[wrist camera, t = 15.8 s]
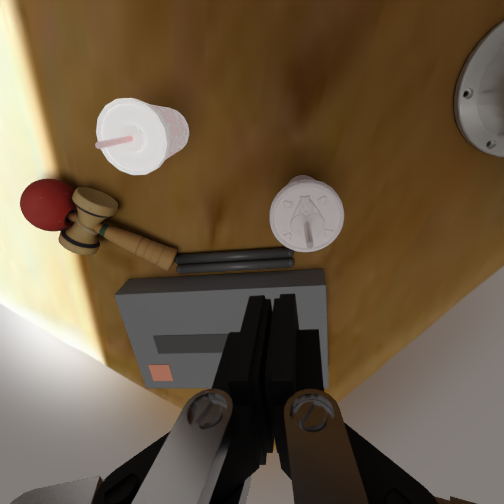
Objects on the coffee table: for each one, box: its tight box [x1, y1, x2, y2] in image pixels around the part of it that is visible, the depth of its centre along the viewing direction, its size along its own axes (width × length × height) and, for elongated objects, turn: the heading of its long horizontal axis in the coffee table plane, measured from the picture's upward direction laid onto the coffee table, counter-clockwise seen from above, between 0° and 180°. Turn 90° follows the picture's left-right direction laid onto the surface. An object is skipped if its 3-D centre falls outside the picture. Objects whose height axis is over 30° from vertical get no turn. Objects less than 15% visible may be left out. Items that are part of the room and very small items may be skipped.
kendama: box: [20, 179, 178, 271], centre depth 38 cm, size 8×6×18 cm
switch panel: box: [114, 248, 329, 388], centre depth 42 cm, size 26×19×4 cm
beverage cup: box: [95, 98, 189, 175], centre depth 28 cm, size 6×6×14 cm
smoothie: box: [270, 175, 344, 252], centre depth 29 cm, size 6×6×14 cm
